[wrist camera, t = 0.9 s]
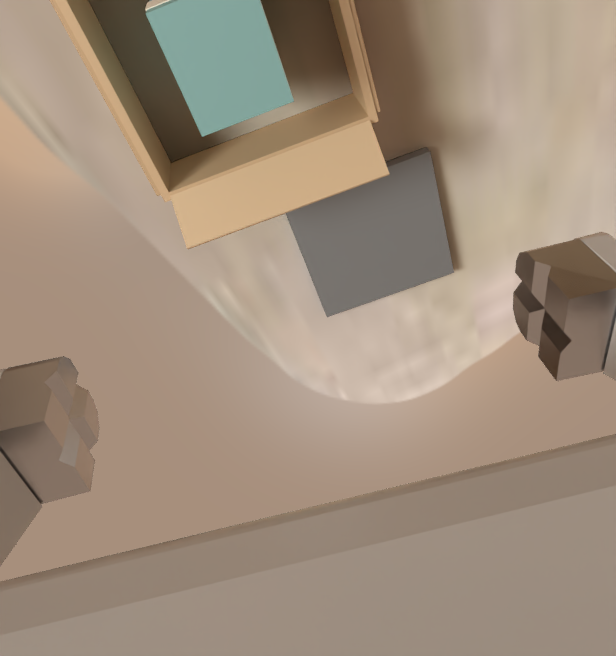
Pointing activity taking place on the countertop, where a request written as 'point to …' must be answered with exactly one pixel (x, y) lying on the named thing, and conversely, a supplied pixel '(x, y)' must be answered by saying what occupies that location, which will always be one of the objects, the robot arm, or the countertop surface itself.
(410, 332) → the countertop surface
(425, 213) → the mat
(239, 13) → the tea box
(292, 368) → the countertop surface
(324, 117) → the carton
